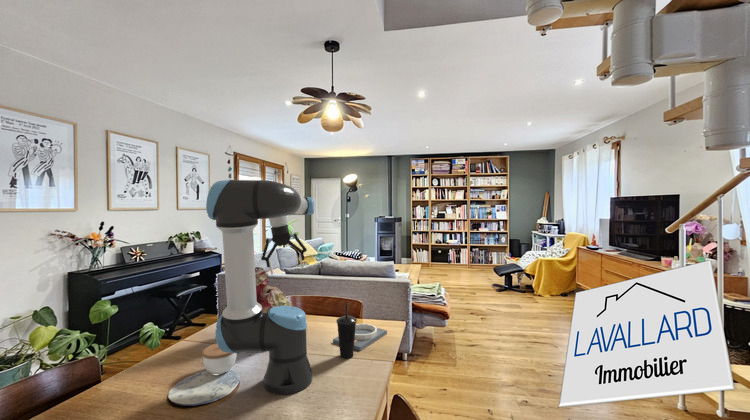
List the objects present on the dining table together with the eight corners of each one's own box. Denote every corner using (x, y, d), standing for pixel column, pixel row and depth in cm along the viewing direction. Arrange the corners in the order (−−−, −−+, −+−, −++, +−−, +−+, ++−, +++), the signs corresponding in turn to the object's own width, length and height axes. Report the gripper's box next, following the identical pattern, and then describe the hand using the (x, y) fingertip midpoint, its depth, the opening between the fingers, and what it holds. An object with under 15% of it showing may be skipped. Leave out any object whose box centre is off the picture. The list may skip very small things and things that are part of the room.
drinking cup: (358, 351, 124) (358, 300, 124) (355, 361, 117) (354, 306, 116) (339, 350, 125) (338, 299, 125) (334, 360, 117) (334, 305, 117)
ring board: (360, 351, 125) (360, 342, 125) (332, 342, 132) (332, 334, 132) (387, 333, 142) (387, 325, 141) (361, 327, 149) (361, 319, 149)
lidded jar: (199, 381, 104) (198, 352, 104) (206, 365, 114) (206, 339, 114) (234, 376, 107) (234, 348, 107) (239, 361, 117) (239, 335, 117)
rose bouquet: (286, 350, 126) (285, 274, 125) (212, 350, 126) (211, 274, 126) (302, 325, 151) (301, 262, 151) (240, 325, 152) (240, 262, 151)
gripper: (306, 219, 152) (313, 262, 155) (251, 229, 146) (260, 274, 148) (307, 221, 145) (315, 266, 147) (249, 231, 139) (258, 278, 141)
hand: (287, 270), depth 148 cm, fingers open, 13 cm apart
